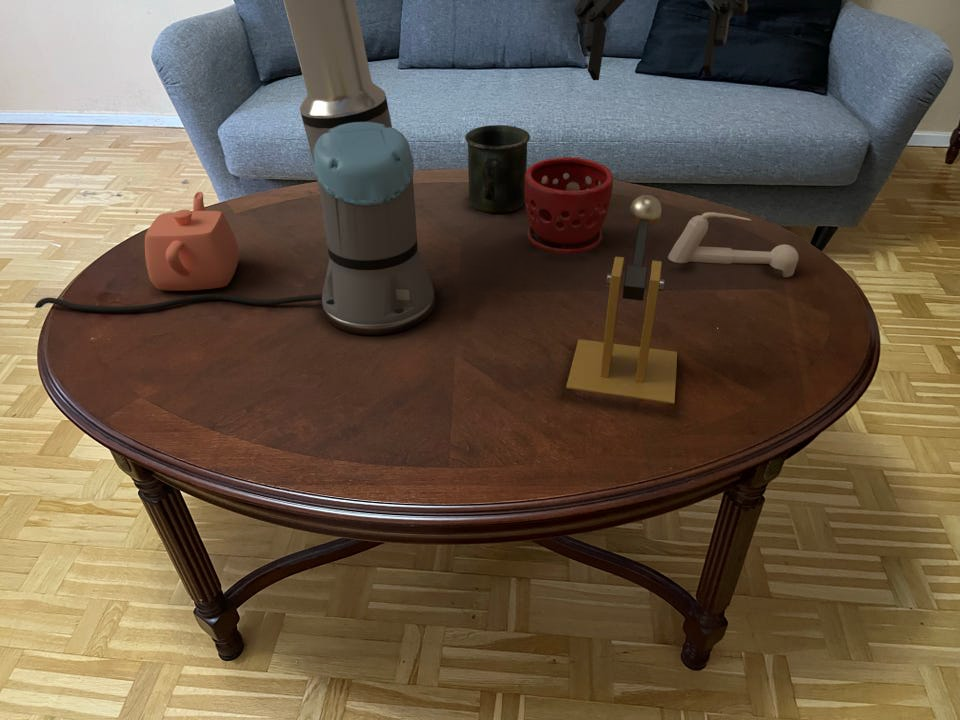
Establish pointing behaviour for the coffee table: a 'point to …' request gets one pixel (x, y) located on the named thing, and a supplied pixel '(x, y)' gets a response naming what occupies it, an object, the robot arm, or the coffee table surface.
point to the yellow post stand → (626, 353)
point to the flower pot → (567, 204)
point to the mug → (497, 167)
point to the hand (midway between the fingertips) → (648, 73)
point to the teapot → (191, 249)
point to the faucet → (728, 249)
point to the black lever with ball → (640, 244)
